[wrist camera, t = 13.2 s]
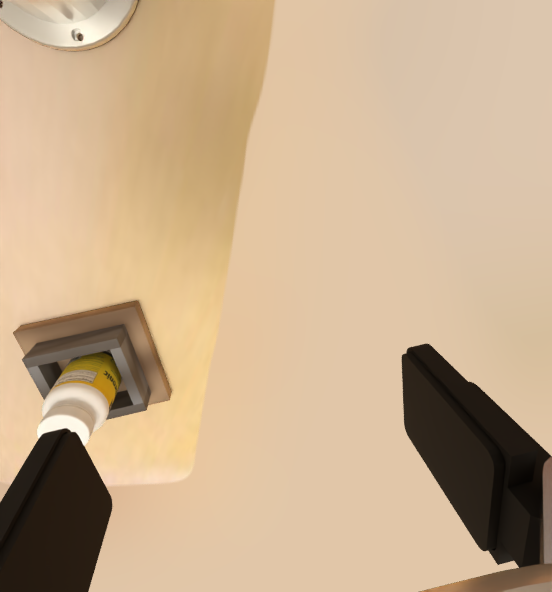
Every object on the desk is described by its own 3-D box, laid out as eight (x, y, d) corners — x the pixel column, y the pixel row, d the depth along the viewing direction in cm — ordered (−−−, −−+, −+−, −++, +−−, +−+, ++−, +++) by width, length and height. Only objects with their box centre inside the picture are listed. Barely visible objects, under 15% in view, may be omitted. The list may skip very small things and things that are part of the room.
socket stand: (20, 325, 37) (-5, 348, 33) (137, 300, 38) (128, 319, 34) (68, 415, 42) (51, 445, 38) (171, 391, 43) (166, 418, 39)
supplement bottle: (125, 389, 40) (99, 460, 31) (72, 387, 39) (28, 460, 30) (125, 346, 38) (97, 409, 29) (69, 343, 37) (21, 407, 28)
